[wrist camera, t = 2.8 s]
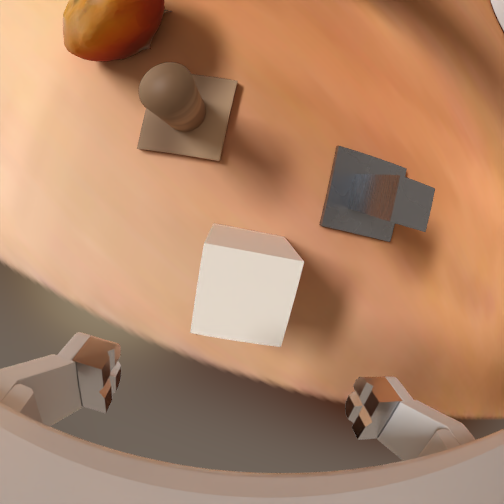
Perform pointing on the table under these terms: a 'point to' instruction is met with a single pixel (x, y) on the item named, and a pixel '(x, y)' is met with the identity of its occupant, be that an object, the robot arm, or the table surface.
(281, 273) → the white rectangular block
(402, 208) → the grey square post stand
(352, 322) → the table surface
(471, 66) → the table surface
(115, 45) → the fruit
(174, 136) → the knob on square plate
